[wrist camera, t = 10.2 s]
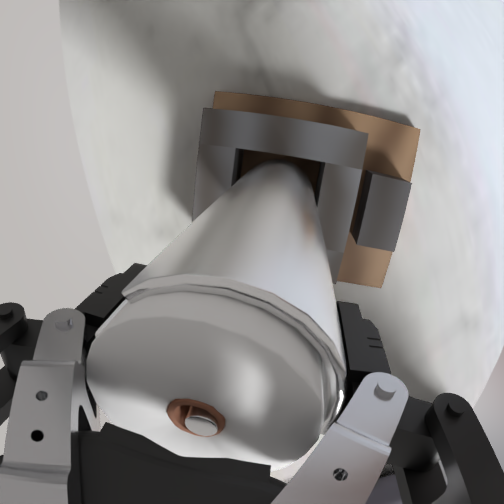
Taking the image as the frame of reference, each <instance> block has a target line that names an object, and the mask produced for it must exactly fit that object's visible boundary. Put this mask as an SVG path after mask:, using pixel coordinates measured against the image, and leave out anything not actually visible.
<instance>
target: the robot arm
mask: <svg viewBox="0 0 504 504" xmlns="http://www.w3.org/2000/svg"><path fill="white" fill-rule="evenodd" d="M146 266H147V265H143V264H138V263H134V264H133V265H132V266H131V267H130V268H129V269H128V270H126V271H125V272H124V273H119V274H117V275H114V276H112V277H110V278H108V279H107V280H106V281H105V282H104V283H103V284H102V285H101V286H99V287H98V288H97V289H96V290H95V292H93V293H91V294H90V296H88V297H87V298H86V299H85V300H84V301H83V302H82V303H81V304H80V305H78V306H77V308H75V309H70V308H63V309H58V310H55V311H53V312H51V313H49V314H48V315H47V316H46V317H45V318H44V320H34V319H26V315H25V311H24V308H23V307H22V306H21V305H20V304H17V303H4V304H0V354H1V357H2V359H3V362H4V364H5V366H4V367H3V368H2V369H0V425H1V424H2V423H3V422H4V421H5V420H6V419H7V418H8V417H9V422H8V427H7V434H6V441H5V448H4V455H1V456H0V504H365V503H366V501H367V499H368V497H369V496H370V494H371V492H372V490H373V488H374V486H375V484H376V482H377V480H378V478H379V476H380V474H381V472H382V470H383V468H384V466H385V463H388V464H391V465H393V469H394V472H395V476H396V480H397V484H398V488H399V492H400V496H401V500H402V504H504V472H503V470H502V468H501V466H500V463H499V461H498V459H497V457H496V455H495V453H494V450H493V448H492V446H491V444H490V442H489V440H488V438H487V436H486V434H485V432H484V430H483V428H482V426H481V424H480V422H479V420H478V419H477V416H476V415H475V413H474V411H473V409H472V407H471V406H470V404H469V403H468V402H467V401H466V400H465V399H464V398H462V397H460V396H459V395H456V394H453V393H443V394H440V395H439V396H437V397H436V399H435V400H434V402H433V403H429V402H425V401H422V400H418V399H415V398H412V397H410V396H408V390H407V387H406V386H405V384H404V383H403V382H402V381H401V380H400V379H398V378H397V377H395V376H393V375H391V371H390V368H389V365H388V361H387V358H386V354H385V351H384V349H383V345H382V341H380V340H381V338H380V335H379V332H378V329H377V328H376V327H375V326H374V325H373V323H372V322H371V321H370V320H366V319H362V317H361V313H360V310H359V306H358V304H353V303H347V302H341V301H337V302H336V305H337V311H338V317H339V323H340V329H341V335H342V341H343V348H344V355H345V361H346V369H347V387H348V394H347V398H346V400H345V403H344V406H343V409H342V412H341V415H340V417H339V419H338V420H337V421H335V422H334V423H333V424H332V426H331V427H330V428H329V430H328V431H327V433H326V434H325V436H324V437H323V438H322V440H321V441H320V442H319V444H318V445H317V447H316V448H315V449H314V451H313V452H312V453H311V455H310V456H309V457H308V459H307V460H306V461H305V463H304V464H303V465H302V466H301V468H300V469H299V470H298V472H297V473H296V474H295V475H294V477H293V478H292V479H291V480H290V481H289V483H288V484H286V483H284V482H282V481H280V480H278V479H275V478H273V477H270V471H271V465H266V464H259V463H253V462H247V461H242V460H236V459H231V458H202V457H183V456H179V455H177V454H175V453H173V452H171V451H169V450H168V449H166V448H164V447H162V446H160V445H159V444H157V443H155V442H153V441H152V440H150V439H148V438H146V437H145V436H143V435H141V434H138V433H135V432H132V431H129V430H126V429H123V428H121V427H118V426H115V425H113V424H110V423H107V422H106V423H105V424H104V426H103V428H102V429H100V413H99V406H98V404H97V403H96V401H95V399H94V397H93V395H92V392H91V390H90V388H89V386H88V383H87V368H86V360H87V357H88V354H89V350H90V347H91V344H92V342H93V341H94V340H95V334H96V331H97V330H98V329H99V328H100V327H101V326H102V324H103V323H104V322H105V321H106V320H107V319H108V318H109V317H110V316H111V314H112V313H113V312H114V311H115V310H116V309H117V308H118V307H119V306H120V305H121V303H122V302H123V301H124V300H125V299H126V298H125V297H124V296H123V294H122V290H123V289H124V288H125V287H126V286H127V285H128V284H129V283H130V282H131V281H132V280H133V279H134V278H135V277H136V276H137V275H138V274H139V273H140V272H141V271H142V270H143V269H144V268H145V267H146Z"/></svg>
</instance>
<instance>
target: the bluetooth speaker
mask: <svg viewBox="0 0 504 504" xmlns="http://www.w3.org/2000/svg"><path fill="white" fill-rule="evenodd" d="M365 504H402V500H401V496H400V492H399V488H398V484H397V480H396V476H395V474H392V475H389V476H386V477H382V478H380V477H379V478H378V480H377V482H376V484H375V486H374V488H373V490H372V492H371V494H370V496H369V497H368V499H367V501H366V503H365Z"/></svg>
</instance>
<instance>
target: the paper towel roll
mask: <svg viewBox="0 0 504 504" xmlns="http://www.w3.org/2000/svg"><path fill="white" fill-rule="evenodd" d="M122 294H123V296H124V297H125V298H126V299H125V300H124V301H123V302H122V303H121V305H120V306H119V307H118V308H117V309H116V310H115V311H114V312H113V313H112V314H111V316H110V317H109V318H108V319H107V320H106V321H105V322H104V323H103V324H102V326H101V327H100V328H99V329H98V330H97V331H96V334H95V340H94V341H93V342H92V344H91V347H90V350H89V354H88V357H87V360H86V368H87V383H88V386H89V388H90V390H91V392H92V395H93V397H94V399H95V401H96V403H97V404H98V406H99V407H100V408H101V410H102V411H103V412H104V414H105V415H106V416H107V417H108V419H109V420H110V421H111V422H112V423H113V425H115V426H118V427H121V428H123V429H126V430H129V431H132V432H135V433H138V434H141V435H143V436H145V437H146V438H148V439H150V440H152V441H153V442H155V443H157V444H159V445H160V446H162V447H164V448H166V449H168V450H169V451H171V452H173V453H175V454H177V455H179V456H183V457H202V458H231V459H236V460H242V461H247V462H253V463H259V464H266V465H271V471H270V472H272V471H275V470H279V469H282V468H285V467H287V466H289V465H290V464H292V463H293V462H295V461H296V460H298V459H299V458H301V457H302V456H304V455H305V454H306V453H307V452H308V451H309V450H310V448H311V447H312V446H313V445H314V444H315V443H316V442H317V440H318V438H319V435H320V434H323V435H325V434H326V433H327V431H328V430H329V428H330V427H331V426H332V424H333V423H334V422H335V421H337V420H338V419H339V417H340V415H341V412H342V409H343V406H344V403H345V400H346V398H347V394H348V387H347V369H346V361H345V355H344V348H343V341H342V335H341V329H340V323H339V317H338V311H337V305H336V299H335V294H334V288H333V283H332V278H331V272H330V267H329V262H328V257H327V252H326V247H325V242H324V238H323V233H322V228H321V224H320V219H319V215H318V210H317V206H316V202H315V197H314V193H313V189H312V185H311V182H310V180H309V178H308V176H307V174H306V173H305V172H304V171H303V169H302V168H301V167H299V166H298V165H296V164H295V163H293V162H291V161H288V160H285V159H275V158H274V159H269V160H265V161H263V162H261V163H259V164H257V165H255V166H254V167H253V168H252V169H251V170H250V171H249V172H247V173H246V174H245V175H244V176H243V177H242V178H241V179H239V180H238V181H237V182H236V183H235V184H234V185H233V186H232V187H230V188H229V189H228V190H227V191H226V192H225V193H224V194H223V195H222V196H220V197H219V198H218V199H217V200H216V201H215V202H214V203H213V204H212V205H211V206H209V207H208V208H207V209H206V210H205V211H204V212H203V213H202V214H201V215H200V216H199V217H197V218H196V219H195V220H194V221H193V222H192V223H191V224H190V225H189V226H188V227H187V228H186V229H185V230H184V231H183V232H181V233H180V234H179V235H178V236H177V237H176V238H175V239H174V240H173V241H172V242H171V243H170V244H169V245H168V246H167V247H166V248H165V249H164V250H163V251H162V252H161V253H160V254H159V255H158V256H156V257H155V258H154V259H153V260H152V261H151V262H150V263H149V264H148V265H147V266H146V267H145V268H144V269H143V270H142V271H141V272H140V273H139V274H138V275H137V276H136V277H135V278H134V279H133V280H132V281H131V282H130V283H129V284H128V285H127V286H126V287H125V288H124V289H123V290H122Z"/></svg>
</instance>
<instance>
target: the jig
mask: <svg viewBox="0 0 504 504" xmlns="http://www.w3.org/2000/svg"><path fill="white" fill-rule="evenodd" d="M419 135H420V129H418V128H414V127H411V126H407V125H404V124H400V123H397V122H393V121H390V120H386V119H382V118H378V117H374V116H370V115H366V114H362V113H357V112H353V111H349V110H344V109H339V108H334V107H329V106H324V105H319V104H313V103H308V102H302V101H296V100H289V99H282V98H275V97H268V96H260V95H251V94H241V93H231V92H218V91H215V95H214V103H213V109H212V108H203V115H202V124H201V132H200V141H199V151H198V160H197V171H196V181H195V193H194V205H193V218H192V222H193V221H194V220H195V219H196V218H197V217H199V216H200V215H201V214H202V213H203V212H204V211H205V210H206V209H207V208H208V207H209V206H211V205H212V204H213V203H214V202H215V201H216V200H217V199H218V198H219V197H220V196H222V195H223V194H224V193H225V192H226V191H227V190H228V189H229V188H230V187H232V186H233V185H234V184H235V183H236V182H237V181H238V180H239V179H241V178H242V177H243V176H244V175H245V174H246V173H247V172H249V171H250V170H251V169H252V168H253V167H254V166H255V165H257V164H259V163H261V162H263V161H265V160H269V159H274V158H275V159H285V160H288V161H291V162H293V163H295V164H296V165H298V166H299V167H301V168H302V169H303V171H304V172H305V173H306V174H307V176H308V178H309V180H310V182H311V185H312V189H313V193H314V197H315V202H316V206H317V210H318V215H319V219H320V224H321V228H322V233H323V238H324V242H325V247H326V252H327V257H328V262H329V267H330V272H331V278H332V283H333V284H336V281H341V282H347V283H353V284H359V285H365V286H371V287H377V288H381V287H382V284H383V281H384V278H385V275H386V272H387V268H388V265H389V262H390V259H391V255H392V252H394V250H395V247H396V243H397V240H398V236H399V233H400V229H401V225H402V221H403V218H404V214H405V210H406V206H407V201H408V197H409V193H410V189H411V184H412V183H410V181H411V177H412V172H413V167H414V162H415V157H416V152H417V146H418V140H419Z"/></svg>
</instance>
